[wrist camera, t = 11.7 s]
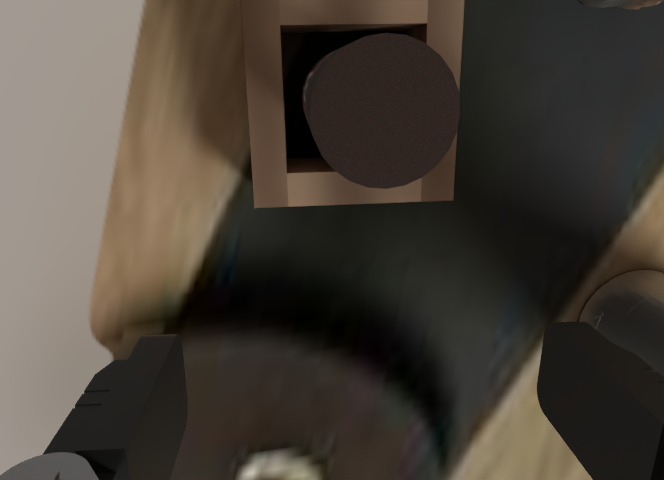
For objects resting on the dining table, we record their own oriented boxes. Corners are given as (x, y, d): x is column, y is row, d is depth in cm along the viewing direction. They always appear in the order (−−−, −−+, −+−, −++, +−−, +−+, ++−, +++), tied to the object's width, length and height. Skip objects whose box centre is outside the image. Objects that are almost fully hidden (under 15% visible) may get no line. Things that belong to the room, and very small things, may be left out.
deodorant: (298, 51, 33) (305, 35, 19) (390, 47, 34) (463, 29, 19) (303, 143, 35) (313, 192, 21) (390, 139, 35) (457, 185, 21)
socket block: (437, -4, 33) (465, -18, 28) (429, 182, 37) (453, 200, 31) (247, -2, 32) (239, -16, 27) (259, 188, 36) (254, 208, 31)
